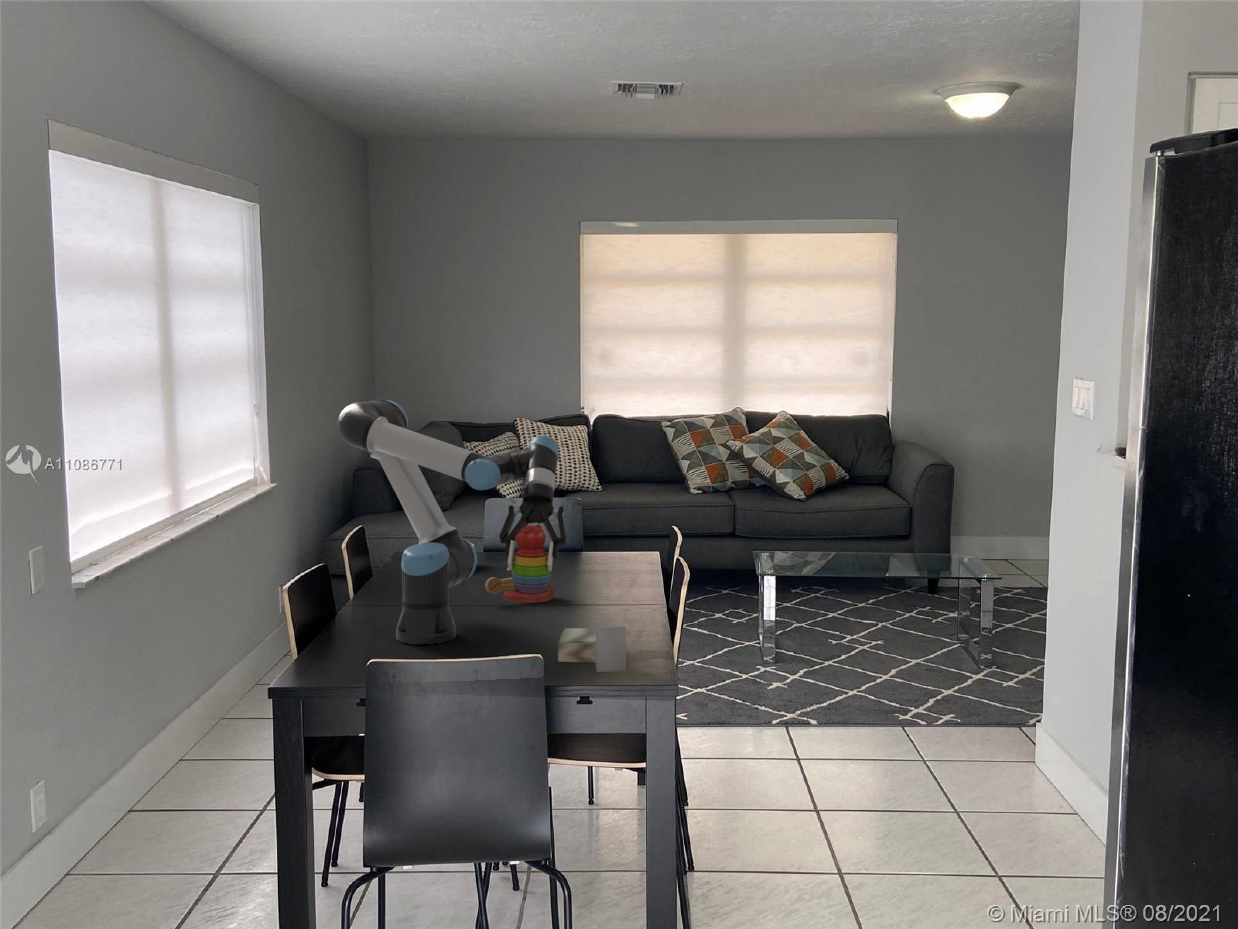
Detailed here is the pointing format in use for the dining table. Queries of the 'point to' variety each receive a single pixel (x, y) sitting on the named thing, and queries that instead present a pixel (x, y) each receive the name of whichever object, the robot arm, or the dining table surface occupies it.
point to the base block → (577, 645)
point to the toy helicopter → (507, 585)
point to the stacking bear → (530, 567)
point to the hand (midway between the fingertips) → (529, 566)
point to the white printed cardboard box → (610, 649)
